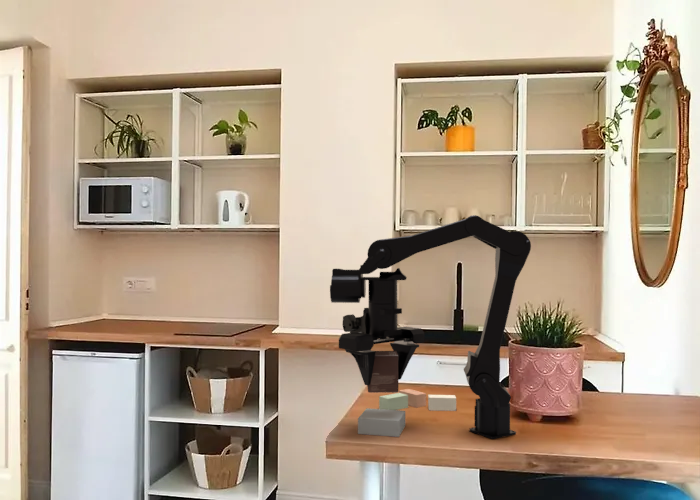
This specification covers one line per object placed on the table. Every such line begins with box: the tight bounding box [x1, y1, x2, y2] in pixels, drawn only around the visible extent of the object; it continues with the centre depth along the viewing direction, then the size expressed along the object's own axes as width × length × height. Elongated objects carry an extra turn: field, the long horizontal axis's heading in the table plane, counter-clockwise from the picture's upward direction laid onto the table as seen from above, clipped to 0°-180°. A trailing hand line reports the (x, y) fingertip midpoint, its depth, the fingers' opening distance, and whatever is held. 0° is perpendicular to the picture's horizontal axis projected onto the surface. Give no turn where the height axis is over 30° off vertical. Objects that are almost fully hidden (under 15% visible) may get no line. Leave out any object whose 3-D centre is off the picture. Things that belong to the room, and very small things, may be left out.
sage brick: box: [378, 392, 409, 410], centre depth 142 cm, size 6×3×3 cm, turn 127°
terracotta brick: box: [398, 388, 427, 409], centre depth 146 cm, size 6×3×3 cm, turn 37°
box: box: [366, 350, 399, 394], centre depth 124 cm, size 6×6×7 cm
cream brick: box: [427, 394, 457, 412], centre depth 141 cm, size 6×3×3 cm, turn 86°
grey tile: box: [357, 407, 406, 438], centre depth 124 cm, size 8×8×3 cm
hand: (383, 382), depth 124 cm, fingers closed on box, 8 cm apart
